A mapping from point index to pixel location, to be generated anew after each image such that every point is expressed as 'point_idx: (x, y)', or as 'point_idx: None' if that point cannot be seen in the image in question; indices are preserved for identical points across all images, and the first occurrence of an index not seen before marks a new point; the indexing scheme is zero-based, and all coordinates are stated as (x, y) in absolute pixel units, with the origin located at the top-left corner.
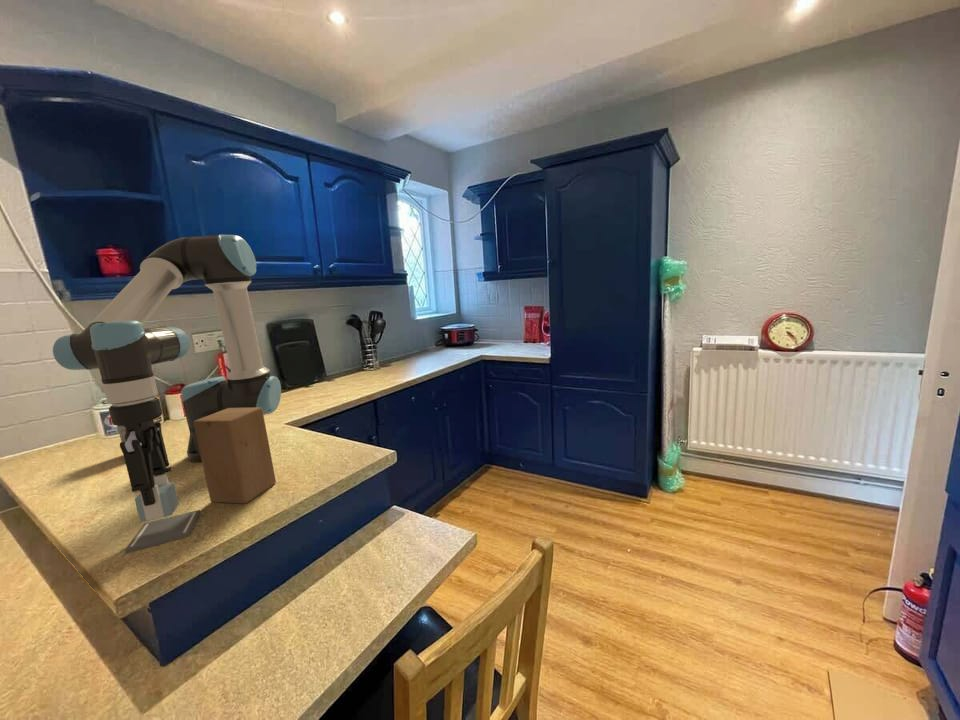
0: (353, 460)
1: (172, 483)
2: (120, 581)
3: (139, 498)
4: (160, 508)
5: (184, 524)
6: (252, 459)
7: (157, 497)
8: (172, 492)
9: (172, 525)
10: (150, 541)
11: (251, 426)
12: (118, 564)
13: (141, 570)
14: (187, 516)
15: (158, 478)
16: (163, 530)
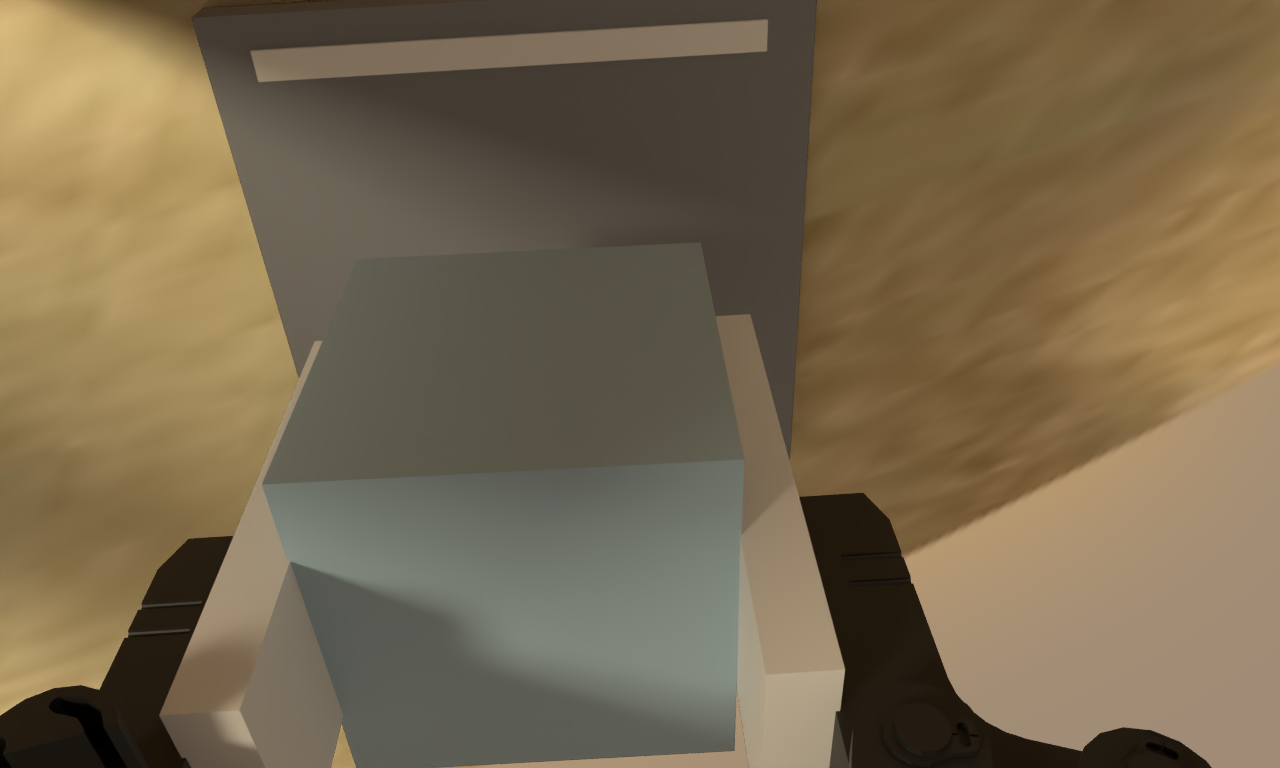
0: None
1: (327, 488)
2: (1250, 316)
3: (732, 708)
4: (770, 393)
5: (549, 96)
6: None
7: (800, 516)
8: (464, 393)
9: (507, 224)
10: (756, 318)
11: None
12: (946, 424)
13: (1203, 220)
14: (342, 126)
15: (289, 749)
16: None
